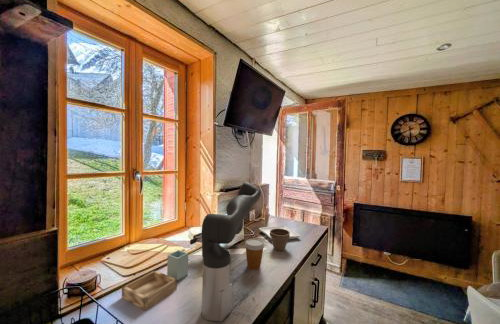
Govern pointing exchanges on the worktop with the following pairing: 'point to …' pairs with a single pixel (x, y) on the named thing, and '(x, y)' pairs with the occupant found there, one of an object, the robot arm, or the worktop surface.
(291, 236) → the salad plate
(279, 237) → the flower pot
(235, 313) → the worktop surface
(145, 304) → the pine crate
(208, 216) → the robot arm
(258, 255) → the disposable coffee cup
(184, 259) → the square green vase
